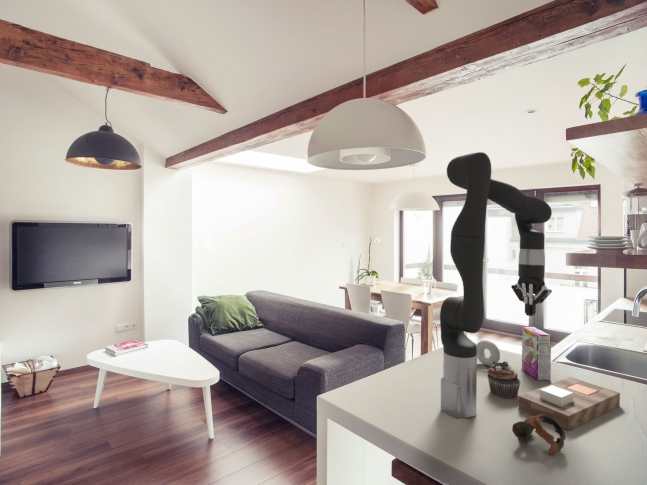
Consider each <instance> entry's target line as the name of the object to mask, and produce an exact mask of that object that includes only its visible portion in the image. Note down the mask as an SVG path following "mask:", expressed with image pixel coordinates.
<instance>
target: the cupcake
mask: <svg viewBox="0 0 647 485" xmlns="http://www.w3.org/2000/svg"><path fill="white" fill-rule="evenodd" d="M486 378H487V381H488V385H489V390H490V392H491V394H493V396H495V397H498V398H502V399H508V400H509V399H510V400H511V399H512V400H513V399H516V398H517V397H518V396H519V395H518V394H519V390H520V386H521V384H522V383H521V380H520V379H519V374H518V373H517V371H516V370H515V369H513V368H512V367H511V366H510V365H509V362H508V361H503V362H498V363H497V362H495V361H493V363H492V364H491V366H489V367H488V369H487V377H486Z"/></svg>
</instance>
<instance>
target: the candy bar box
mask: <svg viewBox="0 0 647 485" xmlns="http://www.w3.org/2000/svg"><path fill="white" fill-rule="evenodd" d="M551 339H552V335H551V334H549V333H548V332H545V331H543V330H541V329H539V328H538V327H536V326H522V327H521V369H522V370H523V371H525V372H526V373H527V374H528V375H530V376H531V377H532V378H534V379H535V380H537V381H541V382H542V381H551V372H552V371H551V370H552V369H551V360H552V359H551V357H552V355H551V354H552V352H551V351H552V349H551V348H552V345H551V344H552V340H551Z"/></svg>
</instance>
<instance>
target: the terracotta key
mask: <svg viewBox="0 0 647 485" xmlns="http://www.w3.org/2000/svg"><path fill="white" fill-rule="evenodd" d="M567 389H570V390H573V391H576V392H579V393H582V394H585V395H588V396H589V395H591V394H594V393H596V392H598V390H595V389H591V388H588V387H585V386H582V385H579V384H575V385H572V386H569V387H567Z"/></svg>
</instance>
